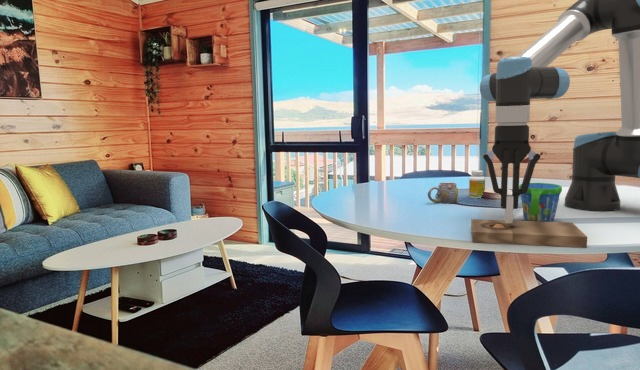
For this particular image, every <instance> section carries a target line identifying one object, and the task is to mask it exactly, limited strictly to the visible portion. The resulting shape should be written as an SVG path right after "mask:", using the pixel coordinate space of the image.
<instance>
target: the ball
mask: <svg viewBox="0 0 640 370" xmlns="http://www.w3.org/2000/svg"><path fill="white" fill-rule="evenodd" d="M493 227H494V228H505V227H504V226H503V225H501V224H496V225H494V226H493Z"/></svg>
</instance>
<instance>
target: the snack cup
mask: <svg viewBox="0 0 640 370" xmlns="http://www.w3.org/2000/svg"><path fill="white" fill-rule="evenodd" d="M521 185H522V183H521V184H520V183H519V189H520V188H521ZM562 191H563V186H562V185H560V184H554V183H547V182H546V183H545V182H530V183H529V187H528V190H527V193H525V194H521V195H520V198H521V199H520V200H521V207H522V214H523V215H522V216H523V220H524V221H542V222H555V217H556V213H557V209H558V204H559V200H560V195H561V193H562Z"/></svg>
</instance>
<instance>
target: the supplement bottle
mask: <svg viewBox="0 0 640 370" xmlns="http://www.w3.org/2000/svg"><path fill="white" fill-rule="evenodd" d="M470 172H471V174H470V175H471V176H470V177H469V178H468V179H469V181H468V182H469V183H468V185H469V187H468V190H469V191H468V197H469V198H471V199H477V198H480V199H482V198H481V197H482V195H483V192H484V191H486V178H485V176H483V175H484V170H477V169H476V170H471V171H470Z"/></svg>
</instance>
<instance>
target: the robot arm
mask: <svg viewBox="0 0 640 370" xmlns="http://www.w3.org/2000/svg"><path fill="white" fill-rule="evenodd" d="M606 30H611V36H612V37H613V38H615V39H616V40H617V41H618V62H619V64H618V65H619V85H620V86H619V87H620V88H619V90H620V91H619V93H620V115H621V127H620V128H619V129H618V130H617V131H606V132H605V131H603V132H592V133H585V134H584V133H583V134H580V135H577V136H576V137H575V138H574V142H573V148H572V153H573V154H572V173H571V174H572V175H571V183H570V186H569V188H568V190H567V192H566V194H565V197H564V205H565V206H566V207H568V208H571V209H572V208H573V209H577V210H584V211H597V212H598V211H601V212H602V211H603V212H604V211H605V212H606V211H607V212H608V211H616V210H619V209H621V198H620V194H619V192H618V189H617V186H616V177H627V178H636V179H640V0H577V1H575V2H574V3H573V4H572V5H571V6H569V7H568V8H567V9H566V10H564V11H563V12H562V13H561V14H560V15H559V17H558V18H557V22H556V23H554V24H553V25H552V26H551V27H550V28H549V29H548V30H546V31H545V32H544V33H543V34H542V35H540V36H539V37H538V38H537V39H536V40H535V41H534V42H532V43H531V44H530V45H528V47H526V48H525V49H524V50H523V51H521V52H520V54H518V55H517V56H509V57H503V58H501V59H499V60H498V62H497V66H496V72H492V73H490V74H486V75H484V76H483V78H482V79H481V81H480V83H479V93H480V95H481V97H482V98H483V99H484V100H485V101H487V102H495V111H494V112H495V115H494V116H495V117H494V118H495V119H494V123H495V124H497V125H496V126H495V127H494V141H493V146H491V150H490V151H488V152H487V153H486V152H485V153H483V154H482V158H483V159H484V161H485V163H486V165H487V169H488V172H489V178H490V181H491V185H492V190H493V192H494V193H495V194H498V195H500V208H501V209H503V210H504V220H505V222H506V223H513V221H514V210H517V209H518V208H519V198H520V197H519V196H521V194H525V193H527V190H528V187H529V183H531V179H532V177H533V174H534V170H535V168H536V164H537V163H538V162H539V160H540V159H541V155H540V153H536V152H535V151H533V150H532V149H531V148H532V147H531V146H530V141H529V140H530V126H529V125H528V124H529V122H530V120H531V119H530V115H531V114H530V113H531V100H545V99H546V100H553V99H558V98H561V97H563V96H564V95H565V94H566V93H567V92H568V90H569V88H570V83H571V80H570V79H571V78H570V75H569V73H568V71H566V70H565V69H564V68H562V67H556V66H550V67H549V65H551V64H553V62H554V61H555V60H556V59H558V58H559V57H560V56H561V55H562V54H563V53H564V52H566V51H567V50H568V49H569V48H570V47H571V46H572V45H573V44H575V43H576V42H579V41H583V40H584V39H586V38H587V37H588V36H590V35H591V34H592V35H593V34H594V33H597V32H601V31H606ZM494 156H496V158H497V159H498V160H499V162H500V163H501V179H500V183H501V184H500V187H499V183H498V179H497V175H496V171H495V167H494V163H493V161H494V159H495V158H494ZM527 156H528V158H527V160H528V163H527V165H526V169H525V173H524V175H523V179H522V183H521V184H522V185H521V188H520V189H519V185H520V169H521V163H522V162H523V161H524V160H525V158H526V157H527ZM509 164H512V183H511V184H512V188H511V190H512V191H511V193H512V194H508V177H509V175H508V174H509Z"/></svg>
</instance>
